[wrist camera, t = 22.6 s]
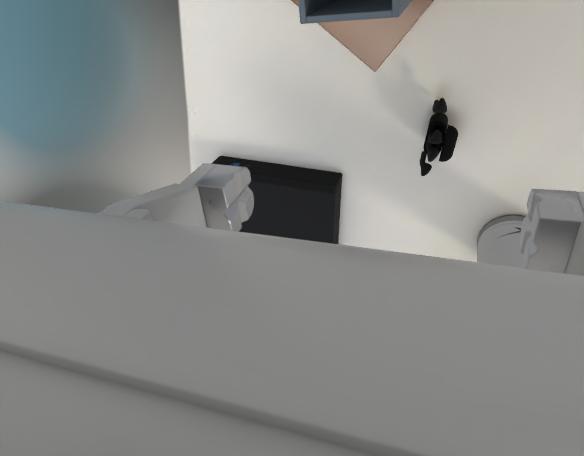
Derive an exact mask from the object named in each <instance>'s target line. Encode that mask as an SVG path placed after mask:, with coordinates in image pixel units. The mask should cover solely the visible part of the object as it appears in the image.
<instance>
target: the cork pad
mask: <svg viewBox="0 0 584 456" xmlns="http://www.w3.org/2000/svg"><path fill="white" fill-rule="evenodd" d="M291 1H293V2H294V3H295V4H296V5H297V6H298V7H299V1H298V0H291ZM432 1H433V0H413V1H412V2H411V3H410V4H409V5H408V7H407V8H406V9H405V10H404V11H403V12H402V14H401V15H400V16H399V17H394V18H392V17H391V18H380V19H365V20H350V21H335V22H321V23H318V24H319V25H321V26H322V27H323V28H324V29H325V30H327V31H328V32H329V33H330V34H331V35H332V36H334V37H335V38H336V39H337V40H338V41H339V42H341V43H342V44H343V45H344V46H345V47H346V48H348V49H349V50H350V51H351V52H352V53H353V54H355V55H356V56H357V57H358V58H359V59H360V60H362V61H363V62H364V63H365V64H366V65H367V66H369V67H370V68H371V69H372V70H373V71H374V72H375V71H376V70H377V69H378V68H379V66H380V65H381V64H382V63H383V61H384V60H385V59H386V58H387V57H388V55H389V54H390V53H391V52H392V50H393V49H394V48H395V47H396V46H397V44H398V43H399V42H400V41H401V39H402V38H403V37H404V36H405V35H406V33H407V32H408V31H409V30H410V28H411V27H412V26H413V25H414V24H415V22H416V21H417V20H418V19H419V17H420V16H421V15H422V14H423V13H424V11H425V10H426V9H427V8H428V6H429V5H430V4H431V3H432Z"/></svg>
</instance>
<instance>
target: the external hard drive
mask: <svg viewBox="0 0 584 456" xmlns="http://www.w3.org/2000/svg"><path fill="white" fill-rule="evenodd" d="M212 164H218V165H228V166H238V167H247V168H248V170H249V171H250V176H251V182H250V184H249V185H248V187H249V188H250V190H251V191H252V192H253V195H254V208H253V212H252V215H251V216H250V218H249V219H248V220H247V221H244V222H242V223H241V224H242V228H241V229H240V231H239V232H245V233H253V234H261V235H269V236H276V237H284V238H292V239H300V240H308V241H315V242H323V243H331V244H338V234H339V217H340V199H341V182H342V174H341V173H336V172H329V171H322V170H315V169H308V168H301V167H294V166H287V165H280V164H273V163H266V162H260V161H253V160H246V159H239V158H232V157H225V156H220V157H218V158H217V159H216V160H215V161H214V162H213V163H212Z"/></svg>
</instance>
